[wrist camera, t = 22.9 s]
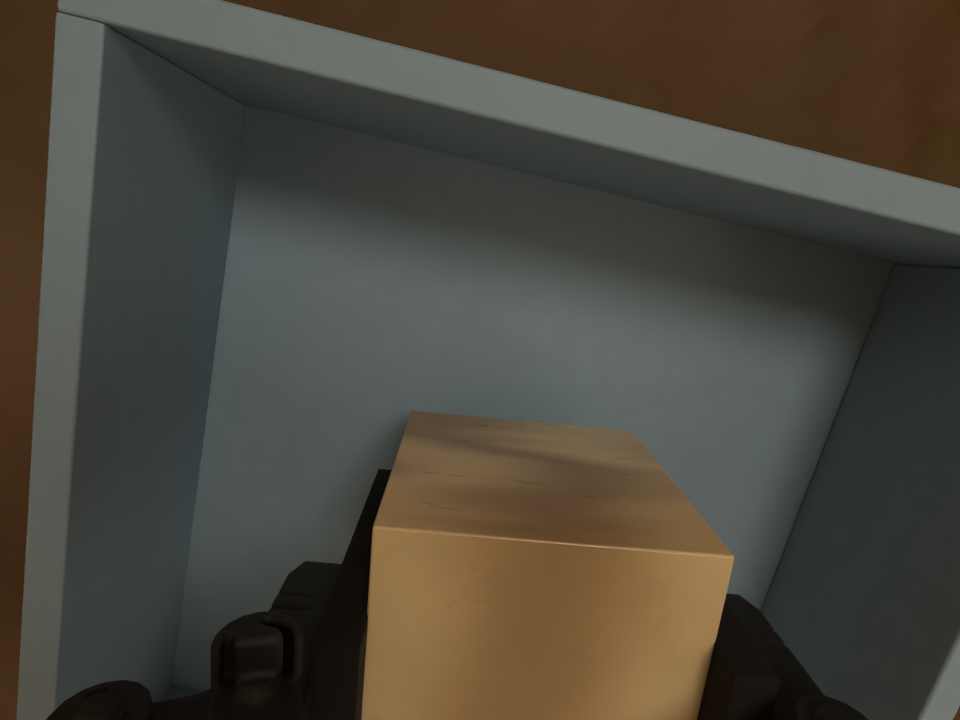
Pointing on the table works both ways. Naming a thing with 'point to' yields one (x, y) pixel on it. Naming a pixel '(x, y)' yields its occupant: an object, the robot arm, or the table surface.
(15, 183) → the table surface
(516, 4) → the table surface
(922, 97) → the table surface
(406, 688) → the block
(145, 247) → the bin
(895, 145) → the table surface
